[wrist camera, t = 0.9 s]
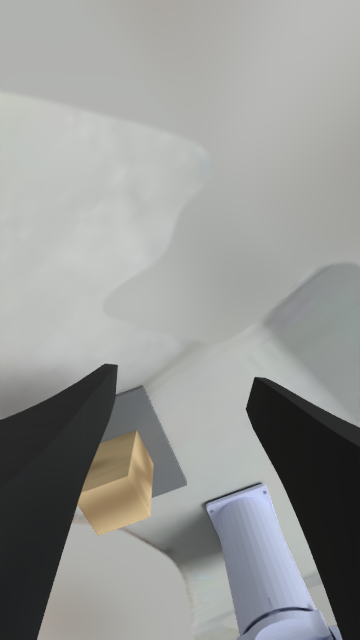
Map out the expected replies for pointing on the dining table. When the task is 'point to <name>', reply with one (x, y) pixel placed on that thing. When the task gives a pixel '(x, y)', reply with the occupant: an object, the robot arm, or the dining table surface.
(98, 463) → the oak block
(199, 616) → the dining table surface
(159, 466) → the mat
